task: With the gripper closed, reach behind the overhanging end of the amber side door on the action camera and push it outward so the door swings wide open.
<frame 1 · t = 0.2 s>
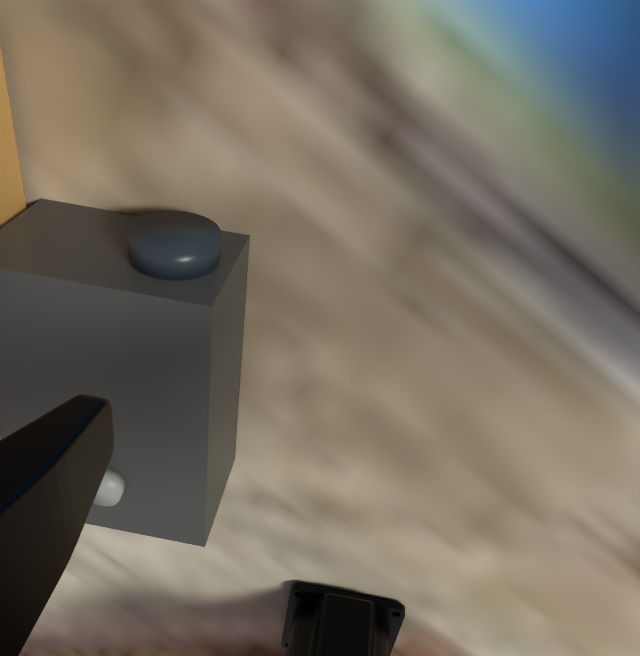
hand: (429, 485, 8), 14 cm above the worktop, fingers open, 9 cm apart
action camera body: (150, 345, 26), on the worktop
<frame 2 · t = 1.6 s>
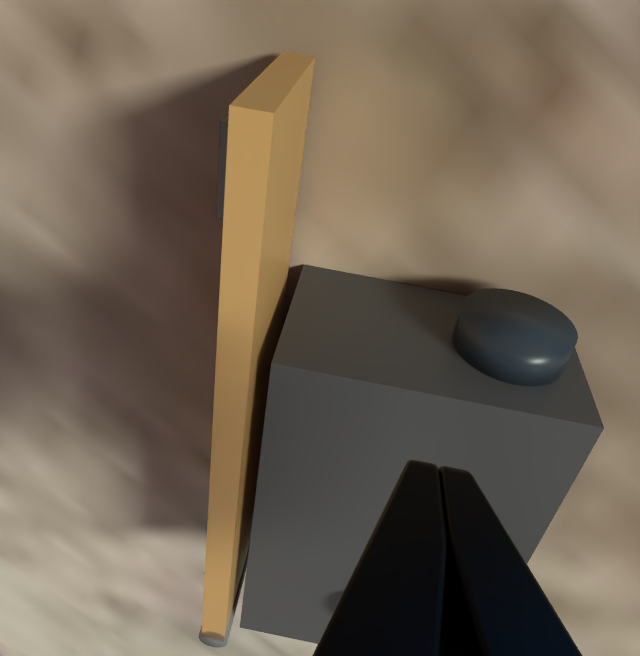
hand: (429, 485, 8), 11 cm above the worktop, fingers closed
side door: (244, 401, 18), point 3 cm above the worktop, hinge at 0.0°
action camera body: (391, 429, 22), on the worktop
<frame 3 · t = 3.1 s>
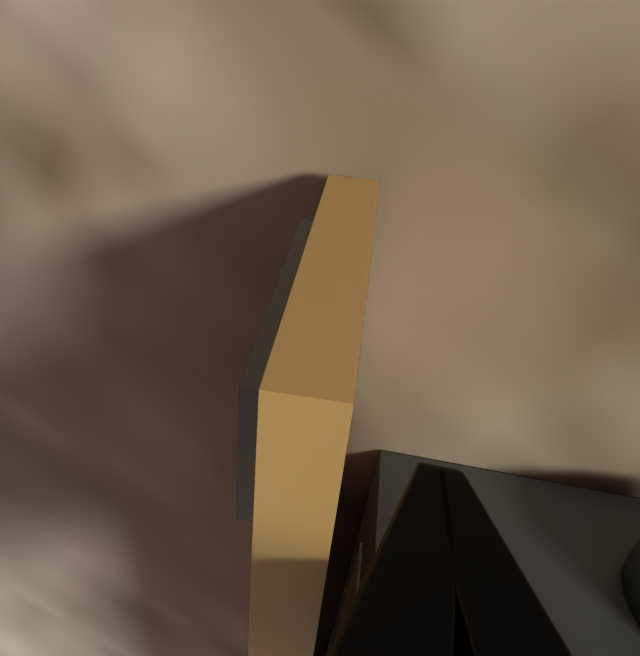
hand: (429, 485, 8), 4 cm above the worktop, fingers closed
action camera body: (486, 634, 16), on the worktop
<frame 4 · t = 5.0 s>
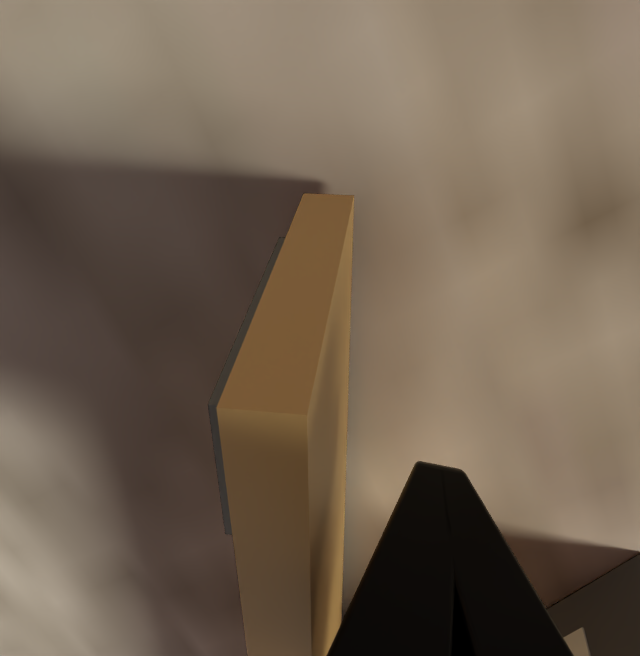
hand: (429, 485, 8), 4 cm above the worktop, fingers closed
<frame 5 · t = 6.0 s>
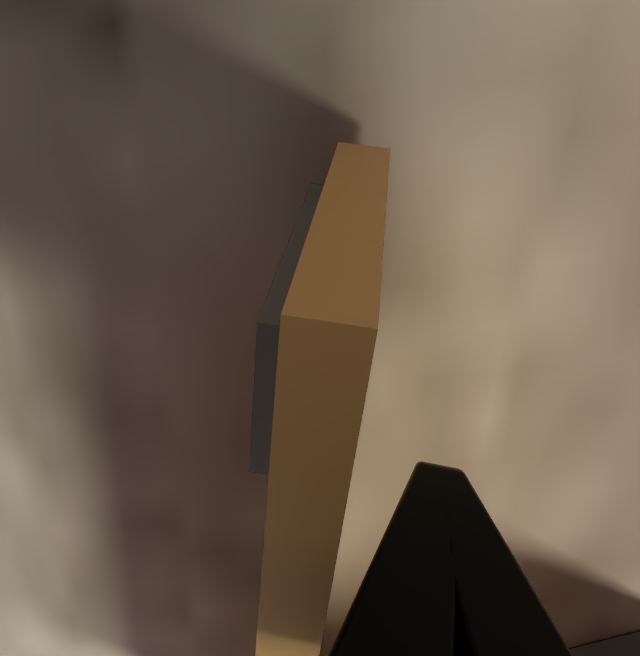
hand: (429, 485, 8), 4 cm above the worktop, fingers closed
side door: (288, 642, 12), point 3 cm above the worktop, hinge at 47.9°, touching gripper
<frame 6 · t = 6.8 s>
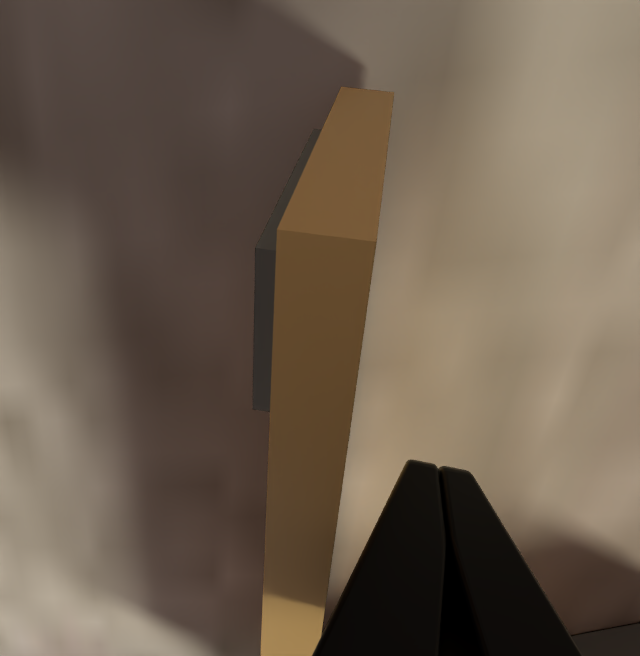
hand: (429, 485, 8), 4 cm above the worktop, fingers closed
side door: (299, 600, 12), point 3 cm above the worktop, hinge at 53.5°
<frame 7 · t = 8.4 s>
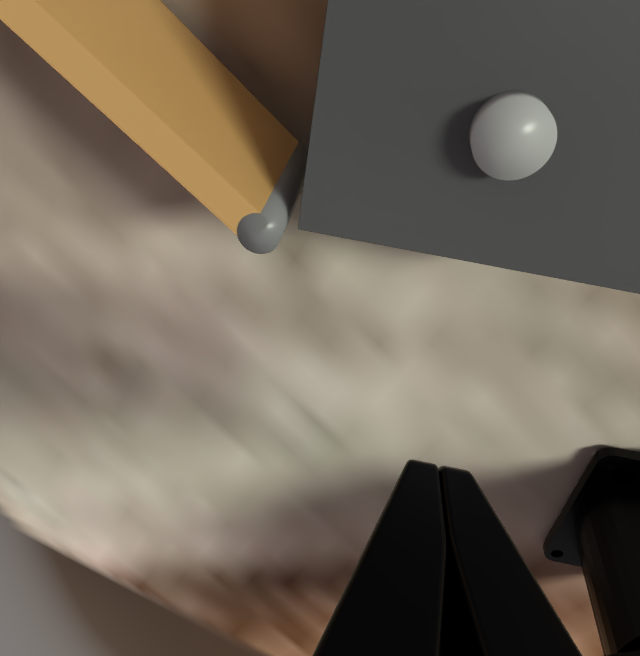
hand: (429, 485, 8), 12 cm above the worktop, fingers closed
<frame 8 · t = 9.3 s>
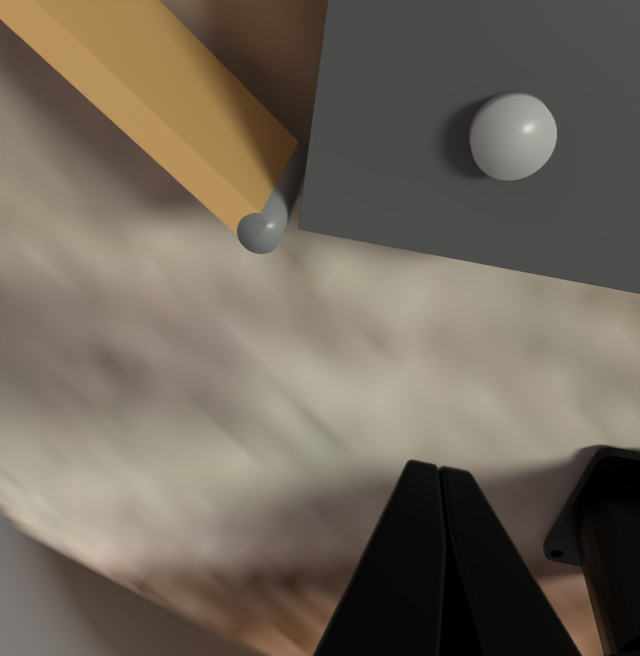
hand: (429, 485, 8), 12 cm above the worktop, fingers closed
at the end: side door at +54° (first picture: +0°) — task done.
